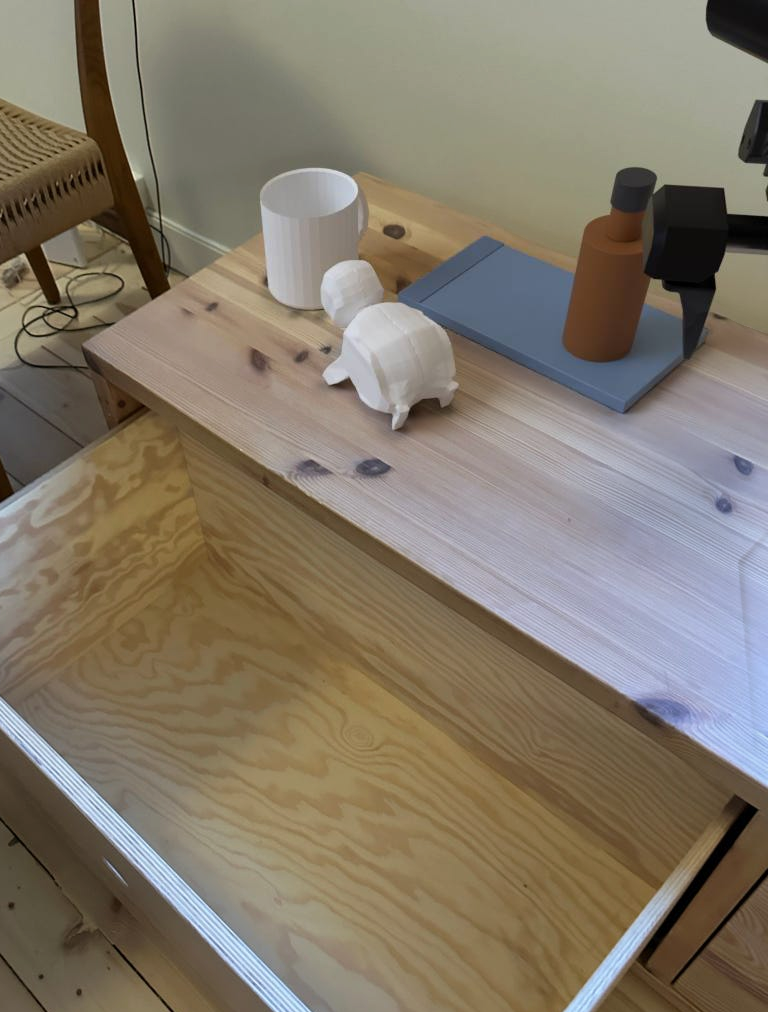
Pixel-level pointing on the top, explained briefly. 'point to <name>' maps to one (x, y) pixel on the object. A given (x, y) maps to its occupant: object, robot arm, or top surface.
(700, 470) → the top surface
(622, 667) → the top surface
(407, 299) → the blue slab
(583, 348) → the brown bottle
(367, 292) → the white turtle figurine
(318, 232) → the mug
